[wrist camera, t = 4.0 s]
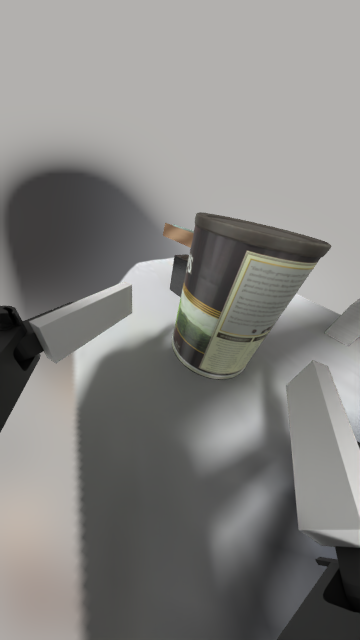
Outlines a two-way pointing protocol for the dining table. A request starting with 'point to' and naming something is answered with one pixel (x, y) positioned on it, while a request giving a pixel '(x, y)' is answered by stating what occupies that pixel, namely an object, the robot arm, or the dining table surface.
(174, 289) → the pivot stand
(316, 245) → the coffee can
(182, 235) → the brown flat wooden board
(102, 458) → the dining table surface
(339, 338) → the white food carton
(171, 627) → the dining table surface
